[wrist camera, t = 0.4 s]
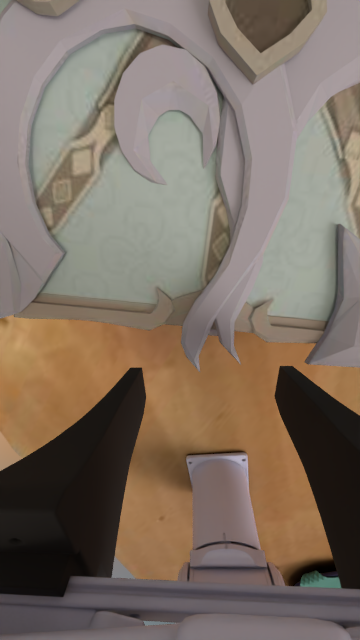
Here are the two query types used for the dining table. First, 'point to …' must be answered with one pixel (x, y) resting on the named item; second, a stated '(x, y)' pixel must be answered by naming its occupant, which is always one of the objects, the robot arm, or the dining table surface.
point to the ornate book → (184, 168)
